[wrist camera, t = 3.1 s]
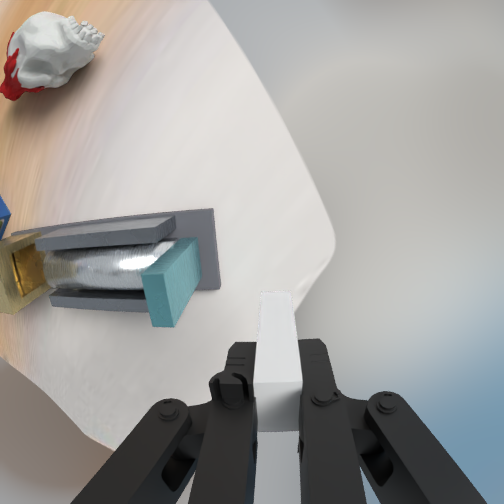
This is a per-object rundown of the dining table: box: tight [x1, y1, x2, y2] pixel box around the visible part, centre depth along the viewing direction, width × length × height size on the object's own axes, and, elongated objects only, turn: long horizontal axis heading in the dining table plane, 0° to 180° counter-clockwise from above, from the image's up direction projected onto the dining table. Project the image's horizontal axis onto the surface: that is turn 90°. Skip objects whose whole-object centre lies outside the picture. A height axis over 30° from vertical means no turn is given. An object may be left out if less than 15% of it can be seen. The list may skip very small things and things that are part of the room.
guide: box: [0, 215, 178, 315], centre depth 23 cm, size 25×7×8 cm, turn 93°
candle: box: [0, 12, 105, 101], centre depth 17 cm, size 9×11×15 cm
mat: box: [11, 208, 221, 290], centre depth 27 cm, size 29×8×1 cm, turn 93°
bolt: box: [43, 237, 202, 327], centre depth 21 cm, size 16×4×8 cm, turn 93°
